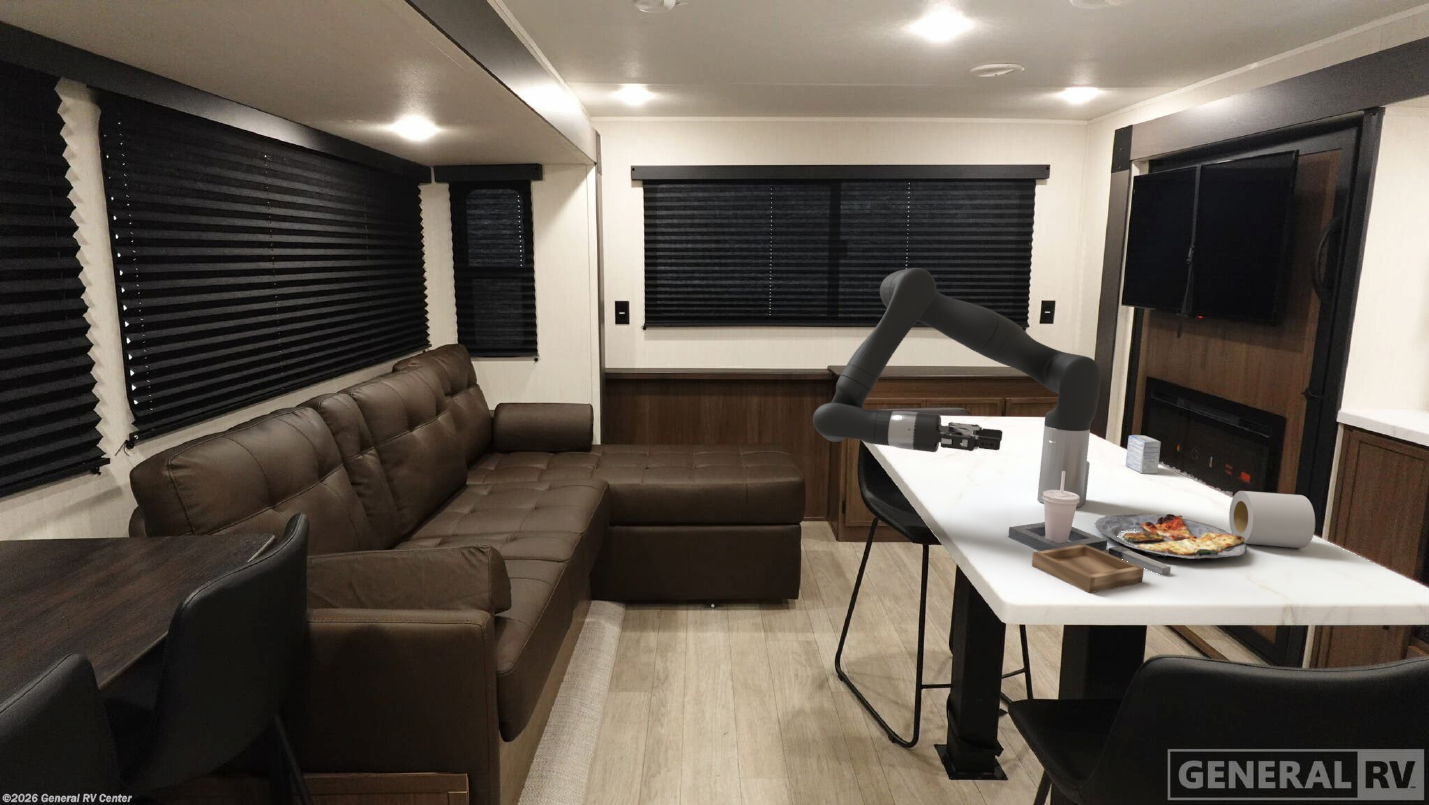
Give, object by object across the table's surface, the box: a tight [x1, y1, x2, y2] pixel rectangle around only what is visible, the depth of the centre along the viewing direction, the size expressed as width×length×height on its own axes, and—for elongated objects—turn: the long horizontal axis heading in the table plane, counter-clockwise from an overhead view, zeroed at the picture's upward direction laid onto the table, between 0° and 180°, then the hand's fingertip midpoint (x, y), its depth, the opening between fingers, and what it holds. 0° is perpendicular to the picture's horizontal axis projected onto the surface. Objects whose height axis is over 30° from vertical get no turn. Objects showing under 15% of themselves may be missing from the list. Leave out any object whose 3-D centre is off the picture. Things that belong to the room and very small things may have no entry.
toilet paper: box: [1228, 490, 1316, 549], centre depth 145 cm, size 10×10×10 cm
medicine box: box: [1125, 434, 1162, 475], centre depth 200 cm, size 8×4×9 cm, turn 179°
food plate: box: [1094, 513, 1248, 560], centre depth 145 cm, size 25×23×4 cm
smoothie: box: [1042, 471, 1080, 543], centre depth 143 cm, size 6×6×14 cm
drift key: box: [1107, 545, 1172, 576], centre depth 135 cm, size 10×3×2 cm, turn 22°
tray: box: [1031, 544, 1145, 594], centre depth 129 cm, size 12×12×2 cm
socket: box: [1007, 521, 1108, 552], centre depth 144 cm, size 12×12×2 cm
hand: (1001, 440), depth 145 cm, fingers open, 8 cm apart
